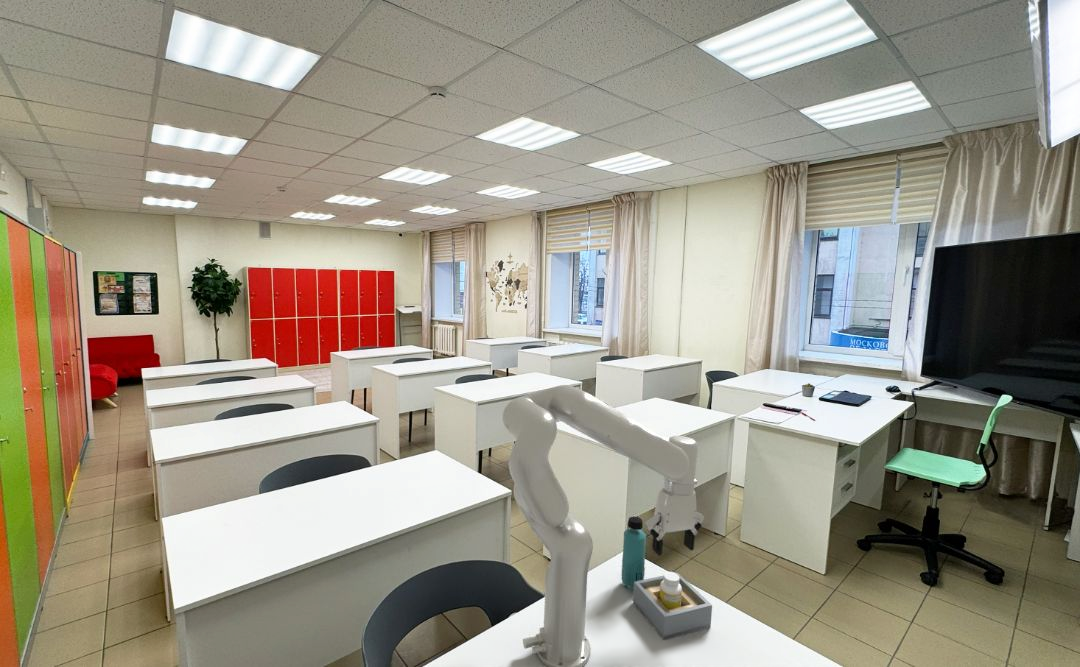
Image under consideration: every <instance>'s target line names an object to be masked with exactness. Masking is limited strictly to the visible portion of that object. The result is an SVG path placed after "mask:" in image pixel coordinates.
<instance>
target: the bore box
mask: <svg viewBox="0 0 1080 667" xmlns="http://www.w3.org/2000/svg"><path fill="white" fill-rule="evenodd" d="M675 573H676V574H677V575H678V576H679V584H680V585H681V587H682V594H681V607H679V608H675V609H671V610H668V609H667V608H666V607H665V606H664V605H663V604H662V603H661V602H660V601H659V600H660V584H661V582H662V581H663V576H664V575H660V576H655V577H650V578H646V579H645V578H644V580H640V581H636V582H634V588H633V594H632V595H633V596H632V603H633V605H634V606H635V607H636V608H637V610H639V612H640V614H641V615H643V617H644V618H645V619H646V620H647V622H648V623H649V625H651V627H652V628H653V629H654V630H655V632H656V633H657V634H658V635H659V636H660V637H661V639H662V640H663V641H665V640H668V639H672V638H676V637H680V636H684V635H688V634H692V633H694V632H700V631H703V630H707V629H711V628H712V627H711V625H712V614H713V604H712V603H711V602H709V601H708V599H706V597H704V596H703V595H702V594H701V593H700V592H699V591H698V590H697V589H696V588H694V586H693V585H692V584H691V583H689V582H688V581H687V580H686V579H685V578H684V577H683V576H682V575H681V574H680V573H678V572H675Z"/></svg>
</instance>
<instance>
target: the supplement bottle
mask: <svg viewBox="0 0 1080 667" xmlns="http://www.w3.org/2000/svg"><path fill="white" fill-rule="evenodd" d="M676 573H677V572H673V571H666V572H664V573H663V575H662V576H663V581H662V582H661V584H660V600H659V601H660V602H661V603H662V604H663V605H664V606H665V607H666V608H667V609H668V610H671V609H675V608H679V607H681V594H682V587H681V585H680V584H679V576H678V575H677V574H676Z"/></svg>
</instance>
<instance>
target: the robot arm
mask: <svg viewBox="0 0 1080 667" xmlns="http://www.w3.org/2000/svg"><path fill="white" fill-rule="evenodd" d="M556 421H561V422H562V423H564V424H566V425H567V426H569V427H570V428H572V429H573V430H575V431H577V432H579V433H581V434H583V435H584V436H587V437H588V438H590V439H593V440H594V441H596V442H597V443H599V444H600V445H603V446H605V447H607V448H609V449H610V450H612V451H614V452H616V453H618V454H619V455H622V456H624V457H626V458H629V459H632V460H633V461H635V462H637V463H640V464H641V465H643V466H645V467H647V468H648V469H650V470H652V471H654V472H656V473H657V474H660V475H661V476H663V483H662V488H660V489H659V492H658V493H657V494H658V495H657V499H656V503H655V506H654V515H653V516H651V517H650V518H649V519H647V520H646V521H645V522H644V523H645V526H646V528H647V532H649V534H650V535H651V536H652V546H651V547H652V550H653V551H654V553H655V554H657V555H658V556H662V555H663V544H664V541H663V539H662V538H664V536H665V535H666V534H667V533H674V532H675V533H676V532H681V531H684V534H683V535H684V536H683V537H684V538H683V545H684V546H685V547H686V548H687V549H688V550H690V551H694V546H695V539H696V535H698V531H699V530H700V529H701V527H702V524H703V522H704V520H705V518H706V517H705V515H703V514H701V513H700V512H698V511H697V498H696V497H697V496H696V495H697V494H696V491H695V486H696V485H698V480H696V472H697V458H698V450H699V449H698V447H699V446H698V445H699V444H698V442H697V441H696V440H695V439H693V438H692V437H688V436H683V435H673V436H670V437H669V436H666V437H665V436H664V437H663V436H660V435H658V434H656V433H655V432H654V431H652V430H650V429H648V428H647V427H645V426H643V425H642V424H640V423H639V422H637V420H635V419H632V418H631V417H630V416H628V415H626V414H625V413H623V412H621V411H619V410H617V409H616V408H614V407H612V406H611V405H609V404H607V403H605V401H602V400H601V399H598V398H597V397H596V396H594V395H592V394H591V393H589V392H587V391H584V390H582V389H579V388H577V387H575V386H572V385H570V384H569V385H568V384H563V385H556V386H553V387H549V388H545V389H542V390H538V391H535V392H532V393H527V394H524V395H521V396H519V397H516V398H514V399H512V400H510V402H509V403H507V405H506V406H505V408H504V409H503V412H502V423H503V425H504V427H505V429H506V430H507V431H508V432H509V433H510V434H512V435H513V437H515V438H516V440H515V442H514V443H513V446H512V448H511V450H510V454H509V458H508V469H509V474H510V476H511V478H512V480H513V482H514V483H513V484H514V485H513V496H514V500H515V502H516V504H517V505H518V507H519V509H520V510H521V513H522V514H523V516H524V518H525V520H526V521H527V523H528V525H529V526H530V528H531V530H532V531H533V533H534V535H536V537H537V538H538V539H539V541H540V542H541V543H542V544H543V546H544V547H545V549H547V551H548V552H549V555H550V561H549V564H548V566H547V568H546V571H545V581H544V614H543V627H540V628H539V632H538V633H536V634H535V636H530V637H525V638H523V639H522V645H523V649H524V650H525V649H529V648H531V652H532V655H536V654H537V656H538V658H539V660H540V661H541V662H542V664H544V665H545V666H547V667H583V666H585V665H586V664H587V663H588V662H589V660H590V656H591V649H592V648H591V644H590V641H589V639H588V638H587V636H586V635H585V634H586V633H585V631H586V612H587V611H586V610H587V609H586V608H587V591H588V588H587V587H588V573H589V566H590V561H591V558H592V554H593V549H594V547H593V546H594V543H593V538H592V536H591V533H590V532H589V530H588V528H587V527H586V526H585V525H584V524H583V523H582V522H581V521H580V520H579V519H578V518H577V517H576V516H575V515H574V514H572V512H570V503H569V500H568V496H567V494H566V492H565V490H564V489H563V487H562V486H561V483H560V482H559V480H558V478H557V476H556V474H555V473H554V471H553V469H552V466H551V464H550V461H549V456H550V451H551V449H552V446H553V445H554V443H555V440H556V438H557V434H558V433H557V432H558V426H557V422H556ZM654 526H655V527H654Z"/></svg>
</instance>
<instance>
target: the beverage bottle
mask: <svg viewBox="0 0 1080 667" xmlns="http://www.w3.org/2000/svg"><path fill="white" fill-rule="evenodd" d="M627 527H628V528H626V529H625V530H624V531H623V545H622V548H623V549H622V557H621V559H622V560H621V571H620V572H621V575H620V576H621V582H622V583H623V584H624V585H625V586H626V587H627V588H628V587H629V588H631V589H634V582H636V581H640V580H645V570H646V566H645V564H646V563H645V561H646V560H645V558H646V550H647V549H646V541H647V540H646V539H647V534H646V532H644V531H643V530H642V529H643V519H642V518H640V517H638V516H629V518H628V521H627Z"/></svg>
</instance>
